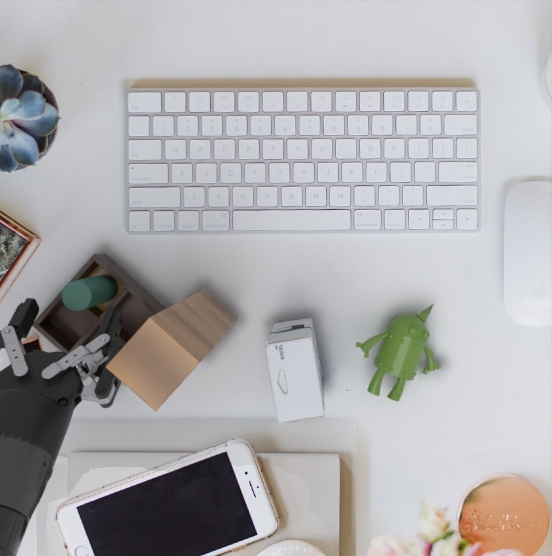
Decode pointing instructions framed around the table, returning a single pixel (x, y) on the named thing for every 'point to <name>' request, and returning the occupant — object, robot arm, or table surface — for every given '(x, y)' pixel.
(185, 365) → the pillar
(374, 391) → the character figure
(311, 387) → the ink box
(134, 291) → the grid
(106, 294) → the green cylinder
